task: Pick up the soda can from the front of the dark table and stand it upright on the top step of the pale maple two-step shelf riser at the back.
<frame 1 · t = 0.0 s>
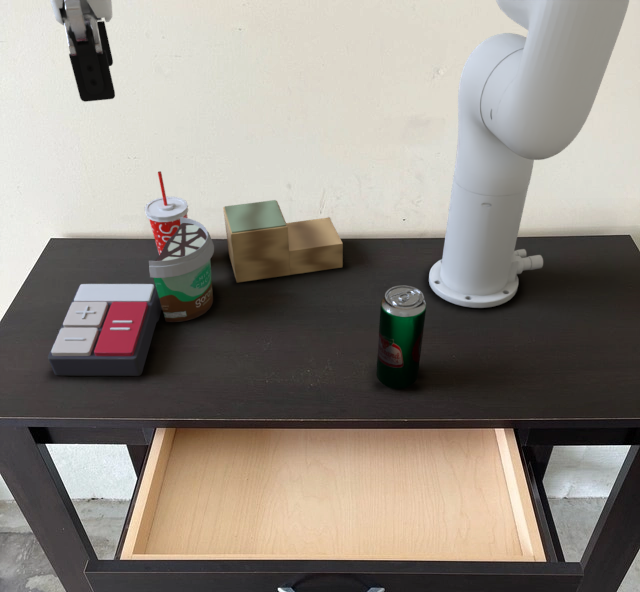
hand: (98, 81, 66), 31 cm above the table, tool pointing down, fingers open, 9 cm apart
riser: (284, 260, 100), on the table
food container: (198, 305, 92), on the table
calculator: (112, 340, 87), on the table
soda can: (396, 379, 81), on the table
beverage cup: (177, 262, 100), on the table
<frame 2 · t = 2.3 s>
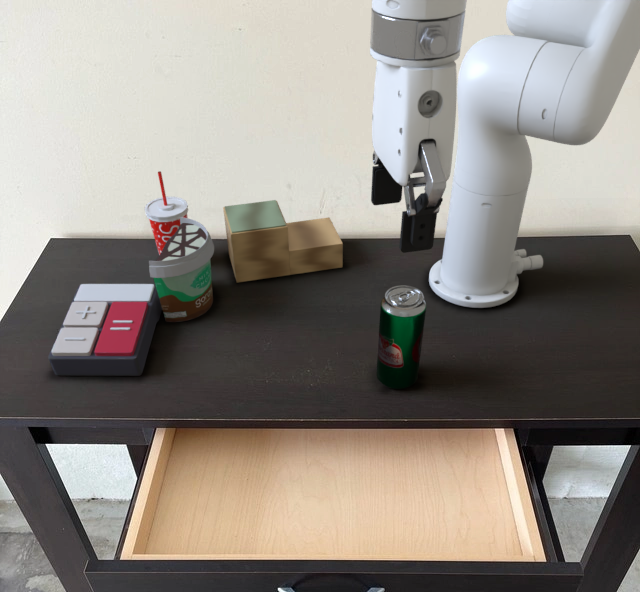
hand: (400, 225, 66), 20 cm above the table, tool pointing down, fingers open, 9 cm apart
nothing on the table moved.
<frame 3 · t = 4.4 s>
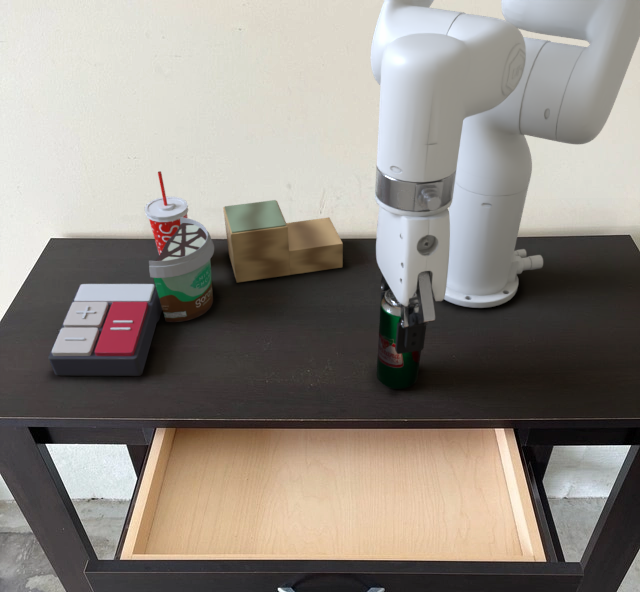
hand: (400, 333, 76), 7 cm above the table, tool pointing down, fingers closed on soda can, 5 cm apart
soda can: (396, 379, 81), on the table, touching gripper
everything else where it was.
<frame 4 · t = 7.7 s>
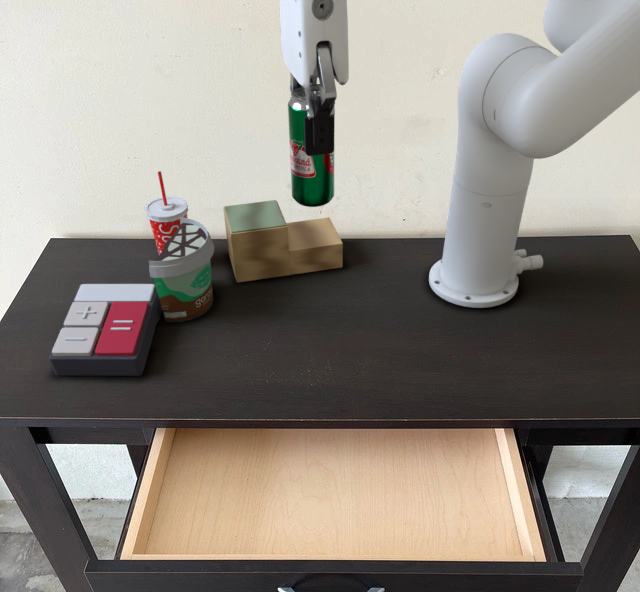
hand: (312, 141, 74), 23 cm above the table, tool pointing down, fingers closed on soda can, 5 cm apart
soda can: (313, 200, 79), point 16 cm above the table, touching gripper
everything else where it was.
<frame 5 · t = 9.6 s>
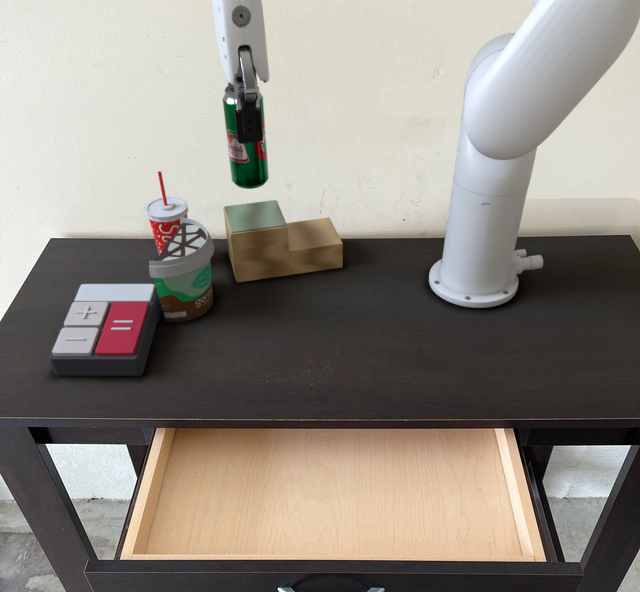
hand: (246, 131, 85), 20 cm above the table, tool pointing down, fingers closed on soda can, 5 cm apart
soda can: (250, 183, 90), point 13 cm above the table, touching gripper
everything else where it was.
when the fingers open (15 cm above the table, at t = 11.2 s): soda can stays where it is, resting on riser.
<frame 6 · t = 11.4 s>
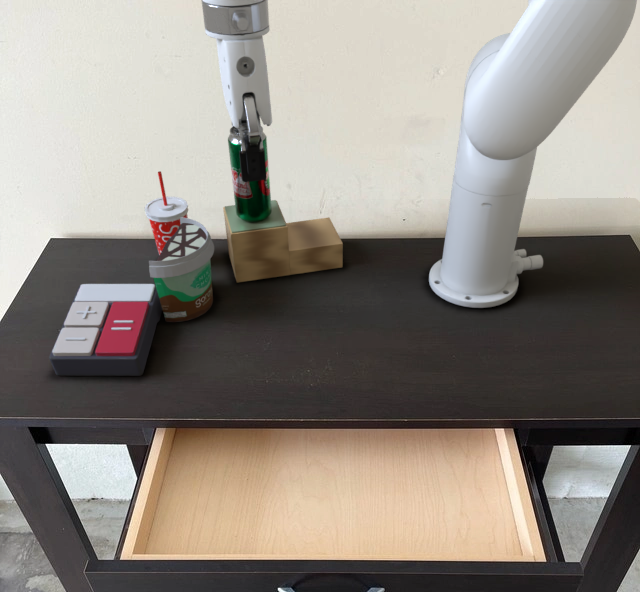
hand: (250, 168, 89), 15 cm above the table, tool pointing down, fingers open, 5 cm apart
soda can: (254, 216, 94), point 8 cm above the table, touching riser
everything else where it was.
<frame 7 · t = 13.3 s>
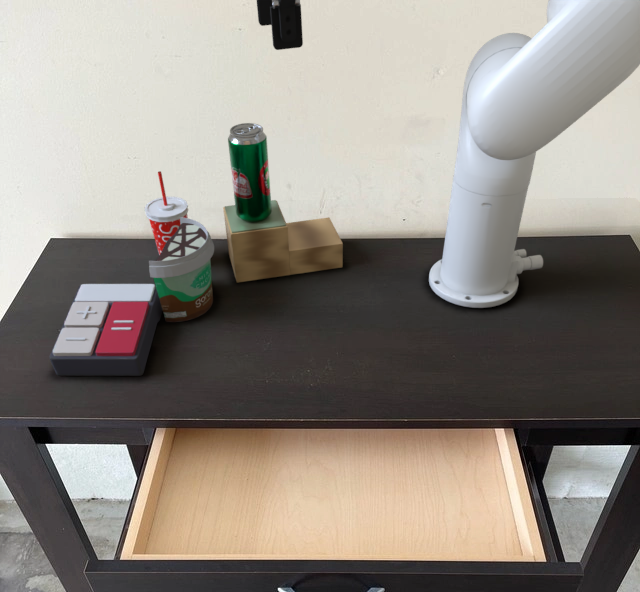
hand: (279, 35, 75), 31 cm above the table, tool pointing down, fingers open, 9 cm apart
nothing on the table moved.
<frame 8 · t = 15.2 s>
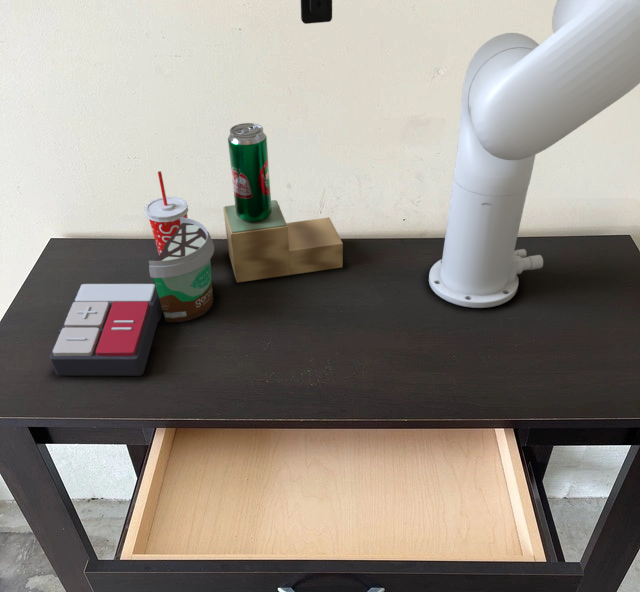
hand: (306, 9, 72), 34 cm above the table, tool pointing down, fingers open, 9 cm apart
nothing on the table moved.
at the end: soda can inside the target area on the riser (0.5 cm from its centre), point 7.8 cm above the riser's base; soda can tilted 0°; the gripper is holding nothing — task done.
